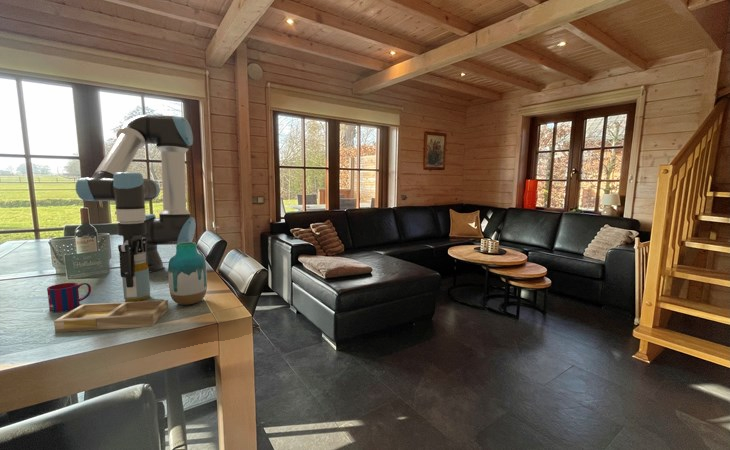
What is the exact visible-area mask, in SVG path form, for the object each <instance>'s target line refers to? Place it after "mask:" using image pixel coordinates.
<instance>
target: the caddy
mask: <svg viewBox="0 0 730 450" xmlns="http://www.w3.org/2000/svg"><path fill="white" fill-rule="evenodd" d="M168 310H169V300H168V299H165V300H164V299H163V300H161V299H160V300H142V301H136V302H128V301H120V302H119V301H117V302H100V303H99V302H97V303H96V302H95V303H82V304H80V306H79V307H77V308H75V309H72V310H69V312H66V313H65V314H63V315H61V316H60V317H59V318H56V319H55V320H53V323H54V324H53V325H54V333H64V332H80V331H93V330H94V331H97V330H111V329H113V330H114V329H126V328H127V329H128V328H142V327H153V326H154V325H155V324H156V323H157V322H158V321H159V320H160V319H161V318H162V317H163V316H164V315H165V314H166V313H167V312H168Z"/></svg>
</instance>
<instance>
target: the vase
mask: <svg viewBox="0 0 730 450" xmlns="http://www.w3.org/2000/svg"><path fill="white" fill-rule="evenodd" d="M175 246H176V247H175V248H176V249H175V250H176V251H175V254H174V255H173V256H171V258H170V259H169V261H168V267H167V269H168V270H167V277H168V288H169V294H170V298H171V300H172V302H175V304H178V305H182V306H183V305H186V306H187V305H194V304H196V303H199V302H200V301H202V300H203V299H204V298H205V296H206V294H207V288H208V271H207V270H208V269H207V265H206V259H205V257H204V256H203V255H202V254H200V253H198V250H197V243H196V241H191V242H182V243H178V244H177V245H175Z"/></svg>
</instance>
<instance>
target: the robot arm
mask: <svg viewBox="0 0 730 450" xmlns="http://www.w3.org/2000/svg"><path fill="white" fill-rule="evenodd" d="M193 143H194V134H193V131H192V127H191V125H190V122H189V121H188V120H187V118H185V117H183V116H178V115H177V116H176V115H160V114H159V115H158V114H157V115H156V114H141V115H138V116H135V117H132V118H131V119H129V120H127V121H126V122H124V123H123V124H122V125H121V126H120V127H119V129H118V130H117V132H116V139H115V141H114V142H113V144H112V145H111V147H110V149H109V150H108V152H107V153H106V155H105V156H104V158H103V159H102V161H101V162H100V164H98V167H97V168H96V169H95V171H94V173H93V174H92V176H91V177H88V176H86V177H81V178H78V179H77V181H76V183H75V192H76V195H77V196H78V198H79V199H81V200H82V201H89V202H90V201H91V202H115V212H114V214H115V215H116V216H115V217H116V222H118V223H117V224H116V229H117V235H118V236H120V237H121V236H122V240H123V241H122V242H123V243H122V244H118V245H117V248H118V252H119V253H118V254H119V272H120V277H121V278H122V277H125V280H126V293H127V297H137V289H136V276H134V273H135V261H134V255H137V254H138V252H143V251H144V252H145V253H146V263H147V265H148V269H149V273H153V272H157V271H159V270H161V269H163V268H164V262H163V260H162V257H161V255H160V253H159V251H158V246H172V245H175V246H176V245H177V244H178V243H182V242H193V240H194V237H195V234H196V229H197V228H196V227H197V226H196V225H197V224H196V218H195V217H192V216H191V215H192V214H191V213H190V211H189V210H188V209H187V195H186V194H187V192H186V191H187V190H186V161H185V160H186V159H185V158H186V157H185V156H186V155H185V154H186V153H187V152H188V151H189V146H193ZM151 144H153V145H156V149H157V150H158V151H159V152H160V154H161V155H160V156H161V157H160V158H161V181H162V183H161V186H162V207H163V209H162V210H161V212H159V217H157V216H156V215H155V214H154V213H153V214H151V213H150V214H147V213H146V203H145V202H150V201H152V200H155V199H157V198H158V197H159V195H160V192H161V189H160V186H159V183H157V181H155V180H153V179H150V178H144V177H143V174H142V173H140V172H127V171H128V169H129V167H130V165H131V164H132V162H133V160H134V159H135V156H136V155H137V153H138V151H139V150H140V149H142V148H144V147H145V145H151Z"/></svg>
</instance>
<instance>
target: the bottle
mask: <svg viewBox="0 0 730 450" xmlns="http://www.w3.org/2000/svg"><path fill="white" fill-rule="evenodd" d="M134 261H135V273H134V276H136V289H137V297H127V293H126V280H125V277H121V278H122V291H123V299H124V301H125V302H137V301H146V300H147V299H148V298H149V297H150V296H151V286H150V285H151V284H150V272H149V269H148V265H147V263H146V253H145V252H144V251H143V252H138V254H137V255H134Z"/></svg>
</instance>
